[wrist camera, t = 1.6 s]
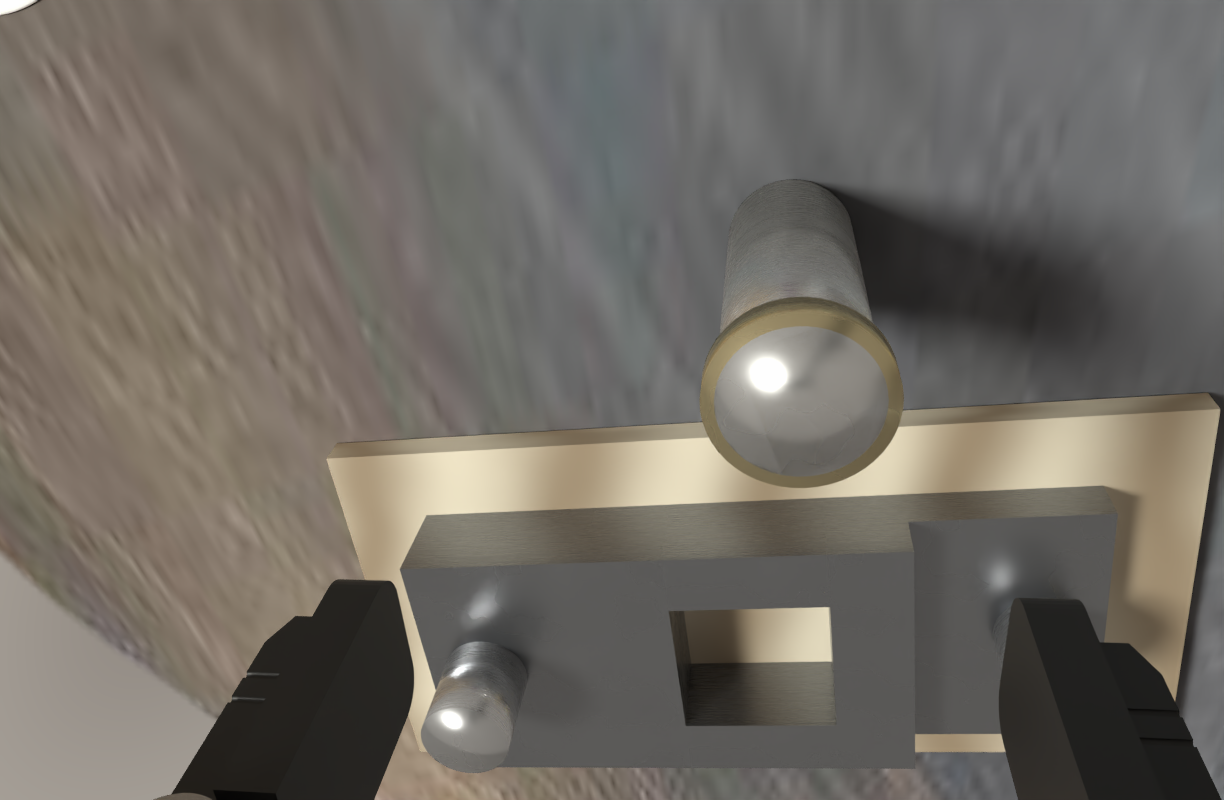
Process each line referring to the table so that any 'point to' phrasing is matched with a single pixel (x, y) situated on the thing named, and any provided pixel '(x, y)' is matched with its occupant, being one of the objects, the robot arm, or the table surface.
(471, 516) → the knobbed grey block
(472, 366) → the table surface
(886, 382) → the pin
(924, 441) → the birch board
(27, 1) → the teacup and saucer
